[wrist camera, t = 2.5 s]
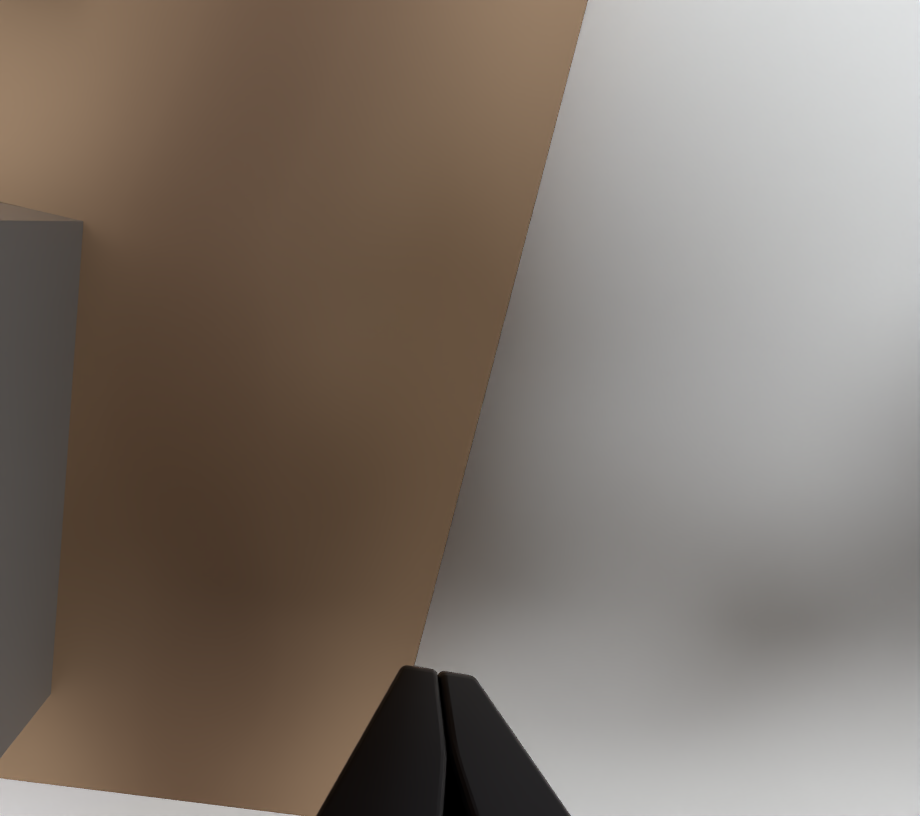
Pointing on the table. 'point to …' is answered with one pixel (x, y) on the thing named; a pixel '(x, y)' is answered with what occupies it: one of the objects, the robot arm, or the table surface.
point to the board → (265, 358)
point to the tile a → (33, 446)
